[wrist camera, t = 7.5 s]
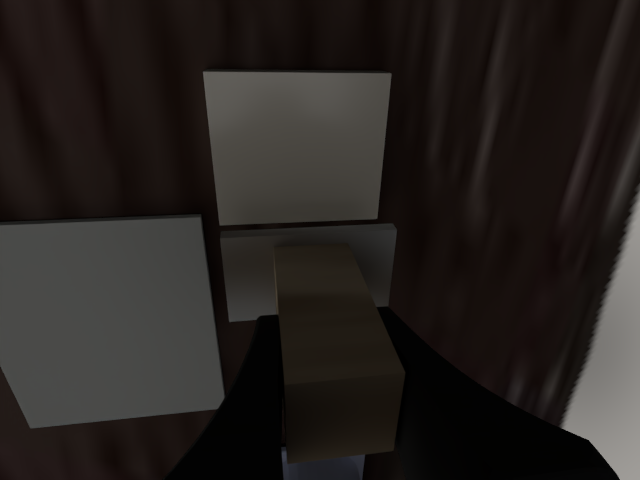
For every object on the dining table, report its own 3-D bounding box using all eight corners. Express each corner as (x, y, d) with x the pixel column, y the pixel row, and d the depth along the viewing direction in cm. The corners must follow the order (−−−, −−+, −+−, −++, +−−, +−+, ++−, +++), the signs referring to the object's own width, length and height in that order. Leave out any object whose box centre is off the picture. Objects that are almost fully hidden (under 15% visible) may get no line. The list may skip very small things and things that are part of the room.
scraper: (383, 301, 18) (456, 453, 12) (229, 313, 17) (214, 485, 11) (392, 223, 17) (484, 350, 10) (221, 231, 16) (195, 377, 9)
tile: (377, 219, 21) (391, 73, 17) (219, 225, 20) (202, 71, 16) (369, 206, 22) (381, 69, 19) (222, 211, 21) (207, 68, 18)
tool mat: (226, 403, 27) (225, 407, 27) (33, 422, 25) (30, 428, 25) (201, 214, 20) (200, 217, 20) (-61, 224, 19) (-67, 228, 18)
